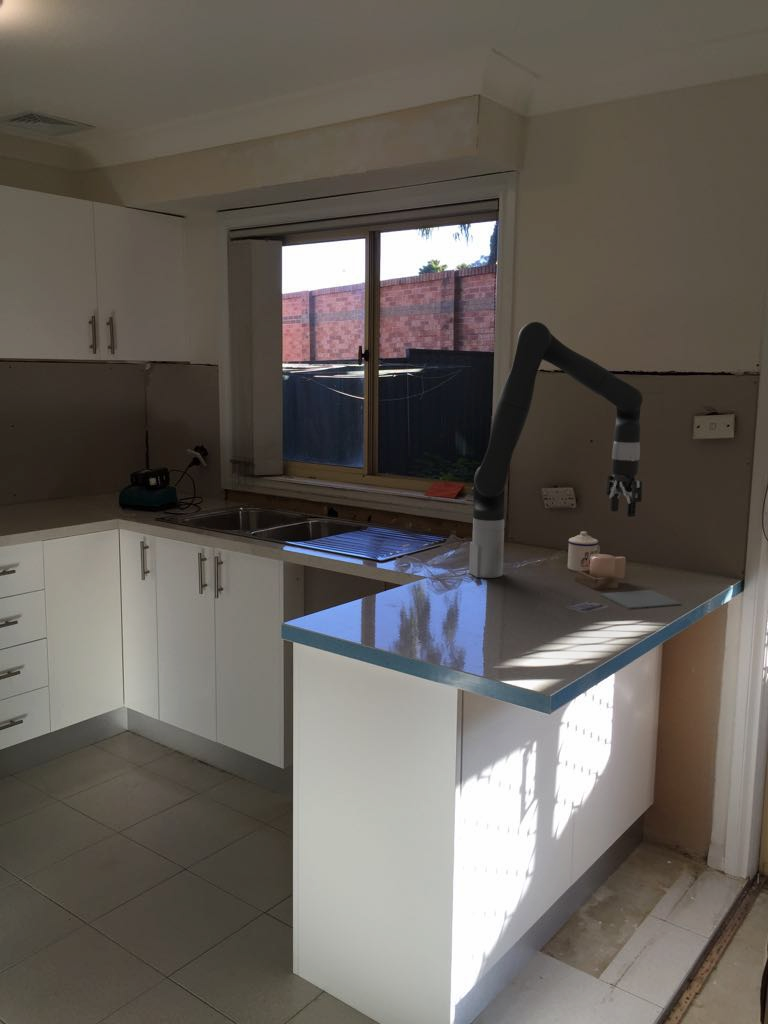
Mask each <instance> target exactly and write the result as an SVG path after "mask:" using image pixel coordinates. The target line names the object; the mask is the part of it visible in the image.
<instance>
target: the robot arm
mask: <svg viewBox="0 0 768 1024" xmlns="http://www.w3.org/2000/svg"><path fill="white" fill-rule="evenodd" d="M543 361H545V362H547V363H549V364H551V365H552V366H555V367H557V368H558V369H560V370H561V371H563V372H564V373H566V374H567V375H569V376H570V377H571V378H572V379H573V380H575V381H576V382H578V383H579V384H581V385H582V386H584V387H585V388H587V390H590V391H592V392H593V393H595V394H597V395H599V396H601V397H602V398H604V399H606V401H608V402H610V403H611V404H612V405H614V406H615V426H614V435H613V446H612V451H611V455H612V456H611V467H610V468H611V469H610V470H611V471H610V472H611V473H612V474H608V475H607V480H606V481H607V482H606V493H605V494H606V496H609V497H608V498H609V499H610V507H609V508H610V509H609V510H610V512H614V513H615V512H618V511H619V504H620V503H619V501H620V499H619V498H620V496H621V494H623V496H624V497H625V498H626V501H627V507H626V516H627V517H630V518H631V517H632V518H633V517H635V516H636V506H637V504H638V503H641V502H642V497H643V496H642V493H643V491H642V489H643V481H642V480H636V478H635V477H636V476H637V475H639V474H640V473H639V471H640V456H641V455H640V454H641V445H640V439H641V423H640V420H641V419H640V418H641V416H640V415H641V408H642V404H643V401H644V400H643V399H644V398H643V395H642V393H641V391H640V390H639V389H638V388H636V387H635V386H632V385H631V384H629V383H627V382H626V381H624V380H622V379H620V378H618V377H617V376H616V375H615V374H613V373H612V372H611V371H609V370H608V369H606V368H605V367H603V366H602V365H599V364H598V363H597V362H595V361H594V360H592V359H589V358H588V357H586V356H584V355H582V354H580V353H578V352H576V351H575V350H573V349H571V348H569V347H568V346H566V345H565V344H563V343H562V342H561V341H560V340H559V339H557V337H555V336H554V335H553V334H552V333H551V331H550V330H549V328H548V327H547V326H546V325H545V324H544V323H542V322H539V321H532V322H529V323H527V324H525V325H523V326H522V328H521V329H520V331H519V333H518V336H517V343H516V349H515V352H514V358H513V361H512V365H511V368H510V371H509V373H508V375H507V378H506V381H504V382H505V383H504V385H503V387H502V390H501V393H500V395H499V397H498V401H497V404H496V408H495V410H494V414H493V418H492V423H491V428H490V434H489V440H488V441H489V442H488V446H487V449H486V452H485V454H484V457H483V460H482V462H481V465H480V466H479V467H477V469H476V471H475V473H474V477H473V502H472V503H473V505H472V506H473V507H472V508H473V509H472V512H473V515H472V516H473V520H472V541H470V542H469V559H468V561H469V563H468V564H469V565H468V573H469V574H471V575H472V576H473V577H475V578H484V579H485V578H486V579H487V578H489V579H491V578H493V579H495V578H499V577H503V571H504V544H505V541H504V540H505V539H504V538H505V519H506V518H505V513H506V508H505V507H506V503H505V500H506V499H505V497H506V495H505V494H506V485H507V481H508V474H509V470H510V466H511V465H510V464H511V461H512V458H513V454H514V451H515V449H516V446H517V444H518V442H519V440H520V438H521V434H522V432H523V430H524V428H525V424H526V422H527V418H528V416H529V412H530V409H531V405H532V402H533V396H534V391H535V384H536V379H537V375H538V371H539V368H540V367H541V364H542V362H543Z"/></svg>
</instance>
